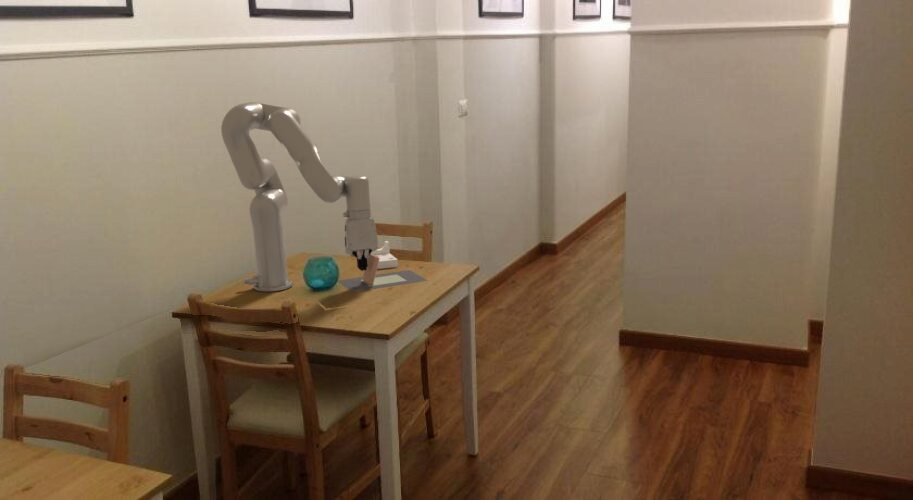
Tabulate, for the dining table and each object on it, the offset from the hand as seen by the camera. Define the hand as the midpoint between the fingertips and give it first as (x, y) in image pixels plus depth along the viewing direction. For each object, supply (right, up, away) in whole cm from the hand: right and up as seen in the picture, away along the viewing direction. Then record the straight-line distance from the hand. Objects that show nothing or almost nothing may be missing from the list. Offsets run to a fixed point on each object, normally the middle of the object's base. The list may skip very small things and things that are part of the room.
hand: (362, 269), depth 270 cm
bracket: (+4, 0, +26) cm, 27 cm away
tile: (+1, -4, +2) cm, 5 cm away
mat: (+6, -4, +4) cm, 8 cm away
